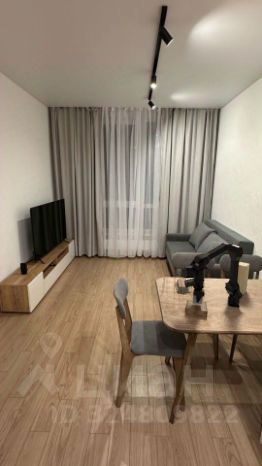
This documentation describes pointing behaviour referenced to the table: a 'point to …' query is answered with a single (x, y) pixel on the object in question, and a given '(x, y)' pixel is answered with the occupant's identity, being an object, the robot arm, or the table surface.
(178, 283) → the packaged product
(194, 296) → the slate cube
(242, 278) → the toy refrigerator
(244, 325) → the table surface
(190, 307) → the walnut block
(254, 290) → the table surface
